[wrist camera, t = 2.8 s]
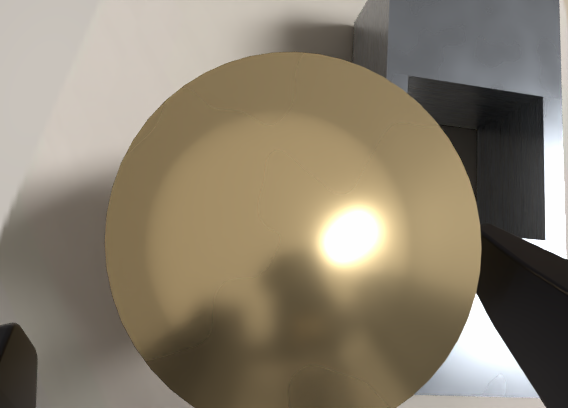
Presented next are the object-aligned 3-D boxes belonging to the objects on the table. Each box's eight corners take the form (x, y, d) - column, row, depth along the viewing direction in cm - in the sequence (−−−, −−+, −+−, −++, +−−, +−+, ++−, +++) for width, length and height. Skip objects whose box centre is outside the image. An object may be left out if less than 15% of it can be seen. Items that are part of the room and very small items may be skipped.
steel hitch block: (492, 370, 18) (569, 398, 14) (336, 364, 17) (373, 393, 13) (492, 46, 21) (558, -5, 17) (354, 22, 20) (391, -39, 16)
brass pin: (310, 347, 17) (601, 583, 4) (135, 339, 16) (-137, 621, 3) (321, 182, 18) (580, -6, 6) (156, 164, 17) (9, -123, 4)
